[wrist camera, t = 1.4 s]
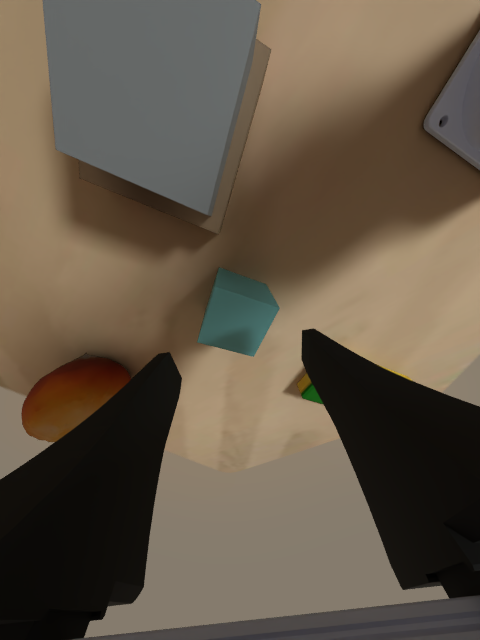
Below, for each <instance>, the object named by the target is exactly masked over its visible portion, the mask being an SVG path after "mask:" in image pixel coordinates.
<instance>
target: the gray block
mask: <svg viewBox="0 0 480 640" xmlns="http://www.w3.org/2000/svg"><path fill="white" fill-rule="evenodd" d="M260 8H261V4H260V3H259V2H257V1H256V0H43V11H44V22H45V33H46V45H47V56H48V67H49V79H50V90H51V101H52V113H53V124H54V135H55V147H56V150H58V151H60V152H63V153H65V154H67V155H70V156H72V157H74V158H77V159H79V160H81V161H83V162H86V163H88V164H90V165H93V166H95V167H97V168H100V169H102V170H104V171H107V172H109V173H111V174H113V175H116V176H118V177H120V178H123V179H125V180H127V181H130V182H132V183H134V184H137V185H139V186H141V187H143V188H146V189H148V190H150V191H153V192H155V193H157V194H160V195H162V196H164V197H167V198H169V199H171V200H173V201H176V202H178V203H180V204H183V205H185V206H187V207H190V208H192V209H194V210H197V211H199V212H201V213H204V214H206V215H209V216H212V213H213V209H214V205H215V201H216V197H217V194H218V190H219V186H220V182H221V179H222V175H223V171H224V167H225V163H226V160H227V156H228V152H229V148H230V145H231V141H232V137H233V133H234V130H235V126H236V122H237V118H238V114H239V111H240V107H241V103H242V99H243V96H244V92H245V88H246V84H247V80H248V77H249V73H250V69H251V65H252V61H253V54H254V48H255V41H256V35H257V28H258V21H259V15H260Z"/></svg>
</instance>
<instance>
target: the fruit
mask: <svg viewBox="0 0 480 640" xmlns="http://www.w3.org/2000/svg"><path fill="white" fill-rule="evenodd" d="M130 380H131V377H130V375H129V373H128V372H127V370H126V369H125V368H124V367H123V366H121V365H120V364H118V363H116V362H114V361H112V360H110V359H108V358H102V357H94V356H90V355H88V354H87V353H85V354H84V355H83V356H81V357H79V358H77V359H75V360H74V361H72V362H69V363H67V364H65V365H63V366H61V367H59V368H57V369H56V370H54V371H53V372H51V373H49V374H48V375H46V376H44V377H43V378H41V379H40V380H39V381H38V382H37V383H36V384H35V385H34V387H33V388H32V389H31V391H30V392H29V394H28V396H27V398H26V400H25V401H24V404H23V407H22V424H23V427H24V429H25V430H26V432H27V433H28V434H29V435H30V436H33V437H35V438H37V439H39V440H46V441H48V442H56V441H57V440H59V439H60V438H62V437H63V436H64V435H66V434H67V433H68V432H70V431H71V430H72V429H74V428H75V427H76V426H78V425H79V424H80V423H82V422H83V421H84V420H85V419H87V418H88V417H89V416H90V415H92V414H93V413H94V412H95V411H96V410H98V409H99V408H100V407H101V406H102V405H104V404H105V403H106V402H107V401H108V400H109V399H110V398H111V397H113V396H114V395H115V394H116V393H117V392H118V391H119V390H120V389H122V388H123V387H124V386H125V385H126V384H127V383H128V382H129V381H130Z"/></svg>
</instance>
